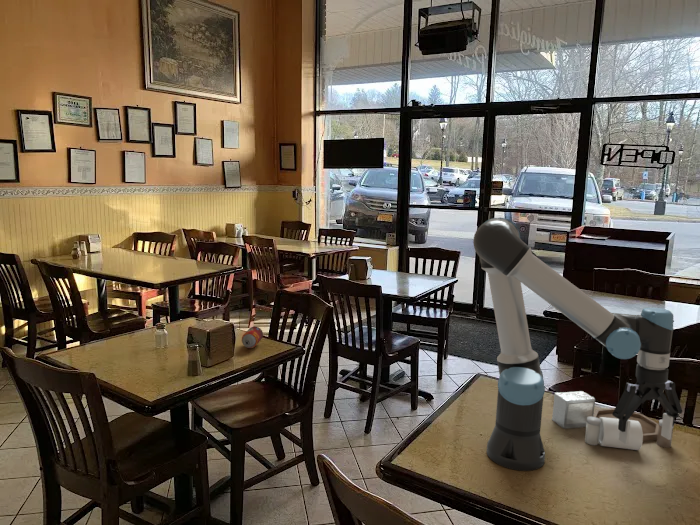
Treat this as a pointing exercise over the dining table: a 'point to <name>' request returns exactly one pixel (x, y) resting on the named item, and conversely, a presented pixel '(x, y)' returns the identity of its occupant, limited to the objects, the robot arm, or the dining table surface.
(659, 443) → the pepper shaker
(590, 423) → the salt shaker
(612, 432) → the white cylinder
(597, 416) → the tray
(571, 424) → the white box
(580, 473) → the dining table surface
